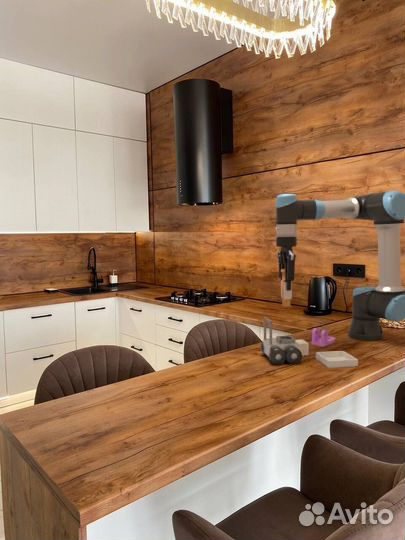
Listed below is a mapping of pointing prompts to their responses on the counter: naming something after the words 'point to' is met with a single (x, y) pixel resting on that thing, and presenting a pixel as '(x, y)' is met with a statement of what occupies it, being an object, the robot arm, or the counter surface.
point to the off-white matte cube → (303, 346)
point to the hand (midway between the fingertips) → (286, 298)
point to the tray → (336, 359)
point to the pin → (284, 301)
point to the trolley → (280, 347)
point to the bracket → (323, 340)
